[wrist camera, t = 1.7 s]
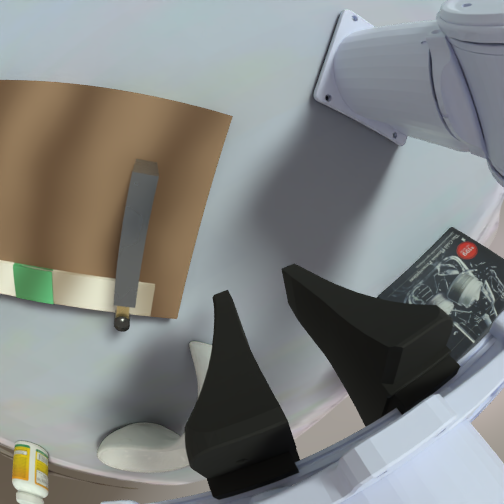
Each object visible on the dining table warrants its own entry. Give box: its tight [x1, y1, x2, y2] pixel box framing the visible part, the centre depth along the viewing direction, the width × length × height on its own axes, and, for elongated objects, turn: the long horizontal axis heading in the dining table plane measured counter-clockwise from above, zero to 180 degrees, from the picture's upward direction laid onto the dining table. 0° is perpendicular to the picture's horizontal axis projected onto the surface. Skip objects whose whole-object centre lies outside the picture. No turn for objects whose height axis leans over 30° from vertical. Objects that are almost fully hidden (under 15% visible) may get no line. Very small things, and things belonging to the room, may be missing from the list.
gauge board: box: [0, 80, 233, 319], centre depth 13 cm, size 18×14×6 cm
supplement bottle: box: [12, 441, 48, 504], centre depth 21 cm, size 5×5×10 cm
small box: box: [378, 227, 504, 362], centre depth 26 cm, size 13×7×12 cm, turn 124°
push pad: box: [113, 159, 159, 331], centre depth 15 cm, size 1×10×4 cm, turn 162°
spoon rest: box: [97, 341, 212, 473], centre depth 25 cm, size 24×12×7 cm, turn 146°
